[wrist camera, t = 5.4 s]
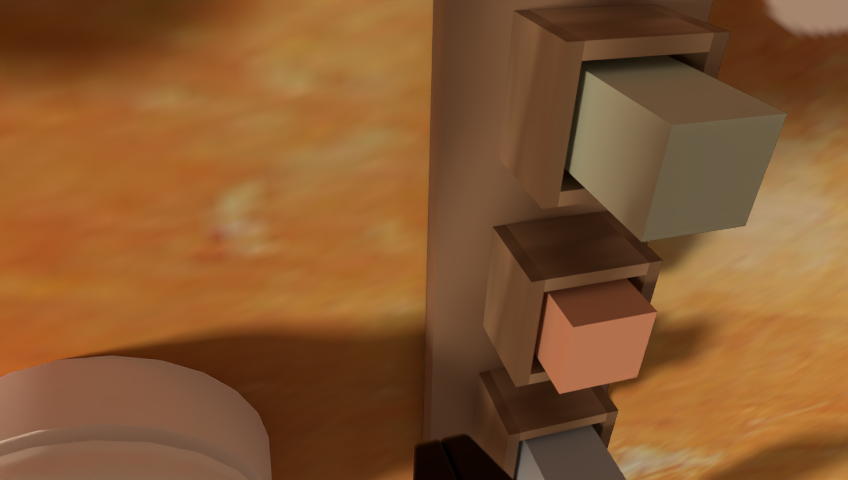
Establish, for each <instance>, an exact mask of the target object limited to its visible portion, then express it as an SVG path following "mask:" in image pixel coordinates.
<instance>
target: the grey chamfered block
mask: <svg viewBox="0 0 848 480" xmlns="http://www.w3.org/2000/svg"><path fill="white" fill-rule="evenodd" d="M513 477H514V479H515V480H626V479H625V477H624V475H623V474H622V472H621V471H620V469H619V468H618V466H617V464H616V463H615V461H614V460H613V458H612V456H611V455H610V453H609V452H608V450H607V448H606V447H605V445H604V444H603V442H602V441H601V439H600V437H599V436H598V434H597V433H596V431H595V429H594V428H593V426H592V425H587V426H583V427H578V428H574V429H570V430H565V431H561V432H557V433H552V434H548V435H544V436H539V437H535V438H531V439H526V440H522V441H519V446H518V452H517V458H516V464H515V470H514V476H513Z"/></svg>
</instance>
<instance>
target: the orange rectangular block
mask: <svg viewBox="0 0 848 480" xmlns="http://www.w3.org/2000/svg"><path fill="white" fill-rule="evenodd" d="M656 314H657V311H656V310H655V309H654V308H653V306H652V305H651V304H650V303H649V302H648V301H647V300H646V299H645V298H644V297H643V296H642V294H641V293H640V292H639V291H638V290H637V289H636V288H635V287H634V286H633V285H632V284H631V283H630V281H629V280H628V279H627V278H624V279H618V280H612V281H606V282H600V283H594V284H589V285H583V286H577V287H571V288H565V289H559V290H553V291H547V292H544V294H543V300H542V306H541V312H540V318H539V324H538V330H537V336H536V343H535V349H534V353H535V354H536V356H537V358H538V359H539V361H540V363H541V364H542V366H543V368H544V369H545V371H546V373H547V374H548V376H549V378H550V379H551V381H552V383H553V384H554V386H555V388H556V389H557V391H558V392H559V394H561V393H566V392H571V391H575V390H580V389H584V388H589V387H594V386H598V385H603V384H608V383H612V382H617V381H622V380H626V379H631V378H636V377H637V376H638V373H639V370H640V366H641V363H642V360H643V357H644V353H645V350H646V347H647V344H648V340H649V337H650V334H651V331H652V327H653V324H654V321H655V318H656Z"/></svg>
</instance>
